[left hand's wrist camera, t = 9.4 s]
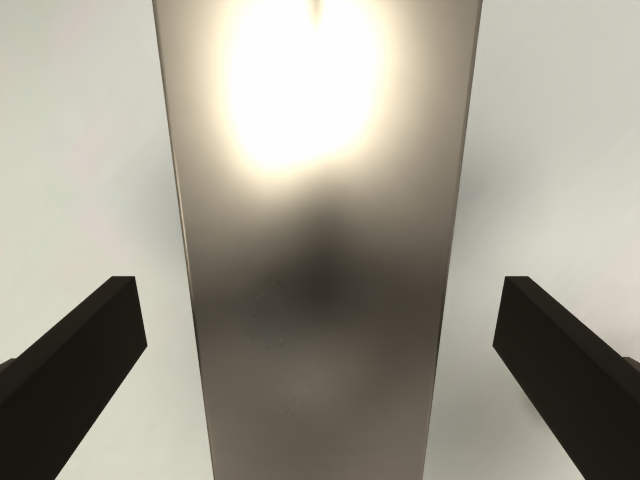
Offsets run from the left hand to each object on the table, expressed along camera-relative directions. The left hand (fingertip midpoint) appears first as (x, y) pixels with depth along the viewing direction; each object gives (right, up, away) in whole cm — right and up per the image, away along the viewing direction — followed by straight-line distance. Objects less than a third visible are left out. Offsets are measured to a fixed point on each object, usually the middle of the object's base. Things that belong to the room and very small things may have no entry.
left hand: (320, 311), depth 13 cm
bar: (0, +9, -1) cm, 9 cm away
